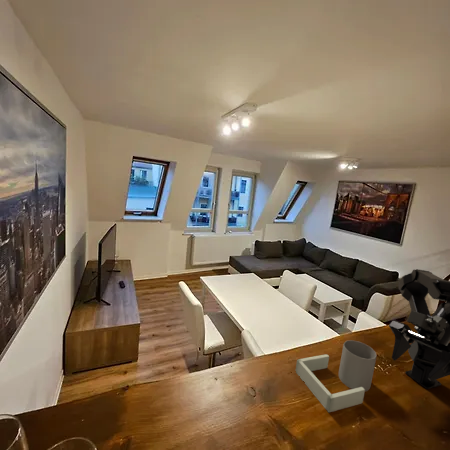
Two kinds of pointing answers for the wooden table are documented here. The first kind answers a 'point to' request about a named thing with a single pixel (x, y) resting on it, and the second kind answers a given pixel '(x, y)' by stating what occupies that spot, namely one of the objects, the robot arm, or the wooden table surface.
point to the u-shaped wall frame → (318, 389)
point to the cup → (357, 365)
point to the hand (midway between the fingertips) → (410, 368)
